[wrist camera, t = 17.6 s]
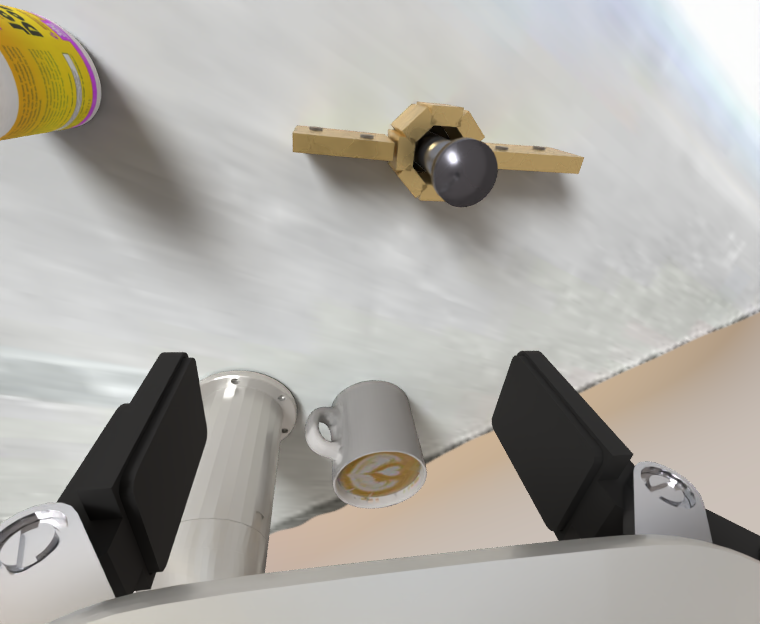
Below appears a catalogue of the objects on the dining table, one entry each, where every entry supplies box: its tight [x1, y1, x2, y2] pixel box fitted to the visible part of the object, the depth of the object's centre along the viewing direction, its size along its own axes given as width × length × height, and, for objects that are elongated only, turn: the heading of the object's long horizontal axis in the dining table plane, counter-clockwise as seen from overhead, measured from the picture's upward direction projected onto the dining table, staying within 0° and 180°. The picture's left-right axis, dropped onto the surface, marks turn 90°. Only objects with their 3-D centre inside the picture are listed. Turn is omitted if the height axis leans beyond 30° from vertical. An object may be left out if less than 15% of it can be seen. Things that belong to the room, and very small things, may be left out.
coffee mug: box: [305, 380, 427, 508], centre depth 42 cm, size 13×10×10 cm
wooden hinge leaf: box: [293, 125, 395, 161], centre depth 28 cm, size 7×2×5 cm, turn 84°
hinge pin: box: [413, 131, 498, 207], centre depth 26 cm, size 4×4×11 cm
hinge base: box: [388, 102, 584, 202], centre depth 29 cm, size 6×14×5 cm, turn 86°
